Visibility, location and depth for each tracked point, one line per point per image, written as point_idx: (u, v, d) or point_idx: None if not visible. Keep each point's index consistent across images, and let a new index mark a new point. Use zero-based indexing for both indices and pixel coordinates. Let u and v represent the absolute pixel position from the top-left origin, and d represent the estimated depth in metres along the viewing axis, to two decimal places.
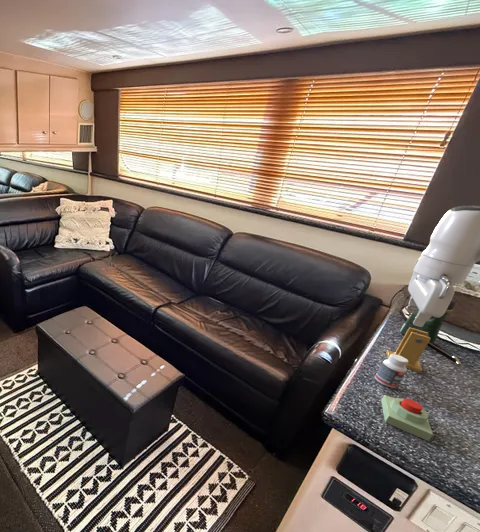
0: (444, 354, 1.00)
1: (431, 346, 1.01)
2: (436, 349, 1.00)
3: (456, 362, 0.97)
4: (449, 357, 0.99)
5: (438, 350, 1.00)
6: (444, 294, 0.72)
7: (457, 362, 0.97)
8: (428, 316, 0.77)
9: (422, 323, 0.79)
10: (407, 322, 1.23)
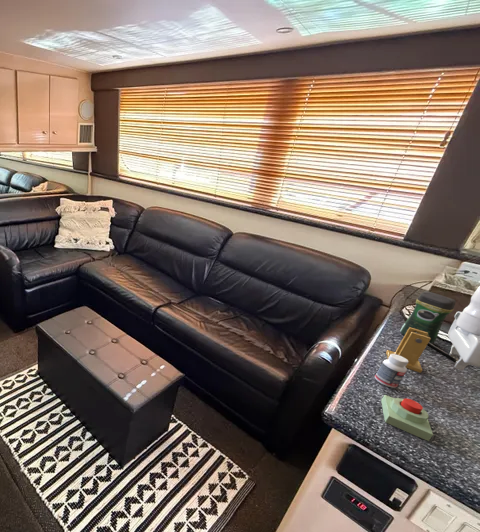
0: (444, 354, 1.00)
1: (431, 346, 1.01)
2: (436, 349, 1.00)
3: None
4: (449, 357, 0.99)
5: (438, 350, 1.00)
6: None
7: None
8: None
9: (462, 367, 0.95)
10: (407, 322, 1.23)
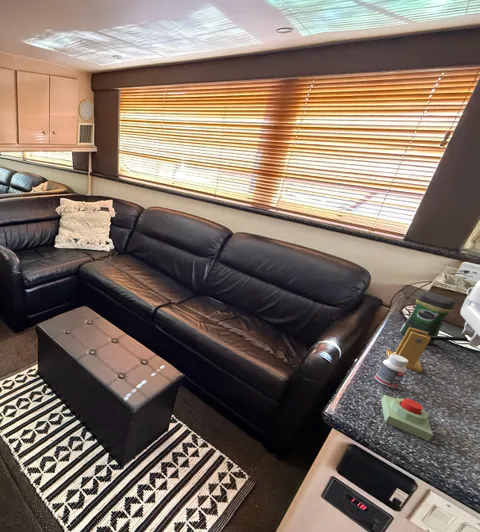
0: (453, 339, 0.98)
1: (435, 338, 1.00)
2: (442, 338, 0.99)
3: None
4: (459, 339, 0.97)
5: (444, 338, 0.99)
6: None
7: None
8: None
9: (477, 343, 0.92)
10: (407, 322, 1.23)
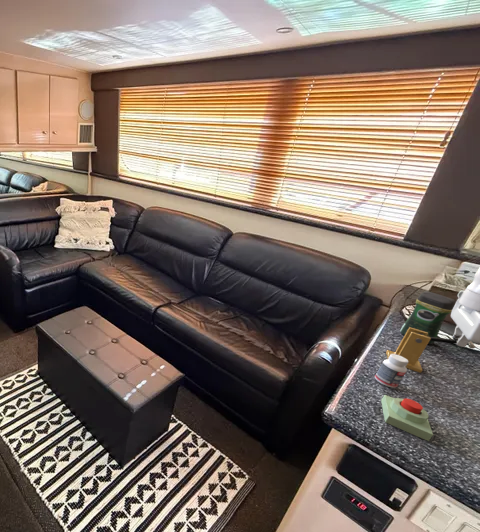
0: (453, 341, 0.98)
1: (435, 339, 1.00)
2: (442, 340, 0.99)
3: (468, 344, 0.95)
4: None
5: (444, 340, 0.99)
6: None
7: (469, 344, 0.95)
8: None
9: (465, 344, 0.95)
10: (407, 322, 1.23)
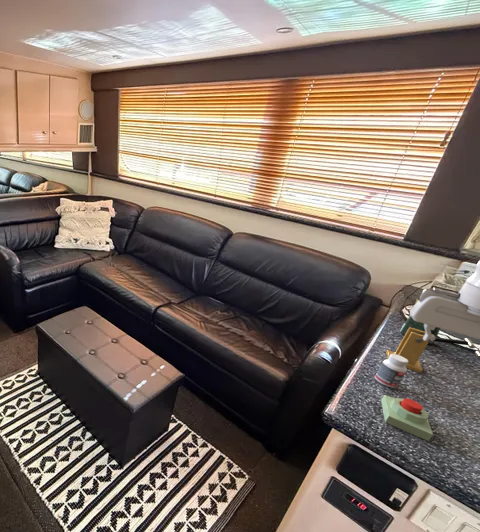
0: (453, 341, 0.98)
1: (435, 339, 1.00)
2: (442, 340, 0.99)
3: (468, 344, 0.95)
4: (459, 342, 0.97)
5: (444, 340, 0.99)
6: (419, 296, 0.80)
7: (469, 344, 0.95)
8: (425, 327, 0.80)
9: (426, 337, 0.81)
10: (407, 322, 1.23)
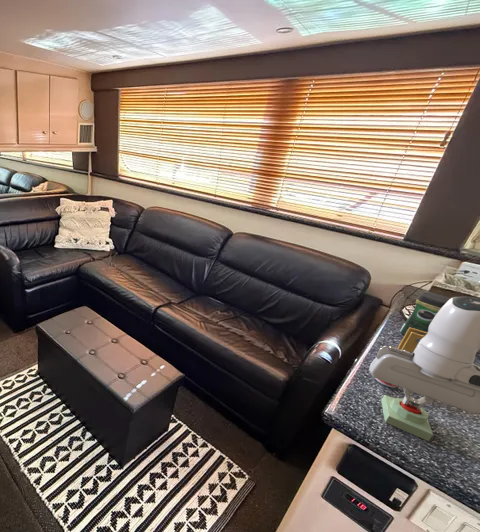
0: None
1: None
2: None
3: None
4: None
5: None
6: None
7: None
8: (404, 391, 0.80)
9: (405, 400, 0.80)
10: (407, 322, 1.23)
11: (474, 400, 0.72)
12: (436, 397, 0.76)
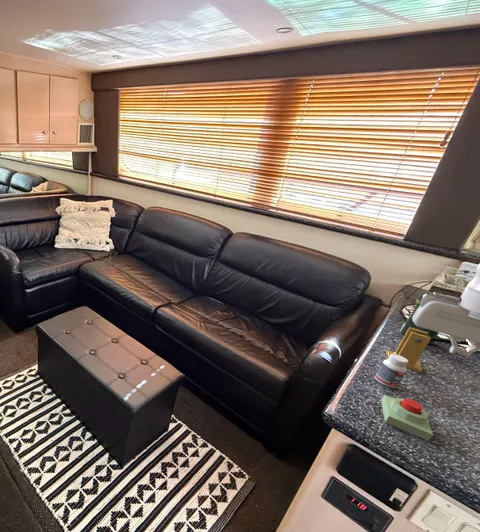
0: None
1: (435, 339, 1.00)
2: (442, 340, 0.99)
3: (468, 344, 0.95)
4: (459, 342, 0.97)
5: (444, 340, 0.99)
6: (420, 301, 0.80)
7: (469, 344, 0.95)
8: (451, 339, 0.77)
9: (452, 349, 0.78)
10: (407, 322, 1.23)
11: None
12: None
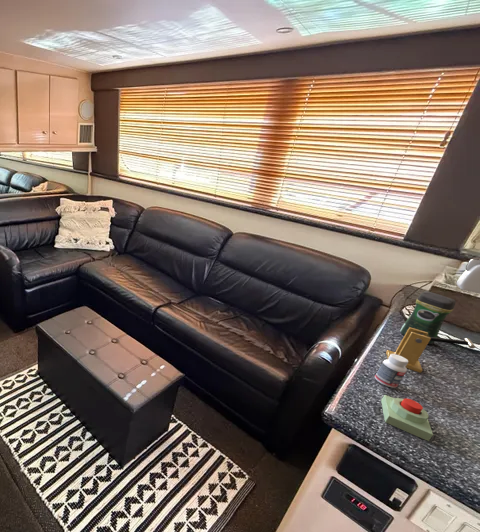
0: (453, 341, 0.98)
1: (435, 339, 1.00)
2: (442, 340, 0.99)
3: (468, 344, 0.95)
4: (459, 342, 0.97)
5: (444, 340, 0.99)
6: (466, 266, 0.83)
7: (469, 344, 0.95)
8: None
9: None
10: (407, 322, 1.23)
11: None
12: None
